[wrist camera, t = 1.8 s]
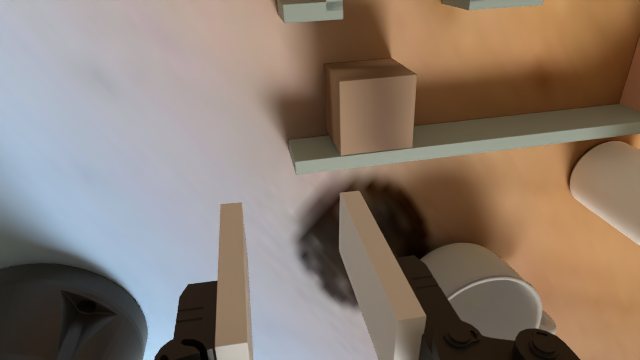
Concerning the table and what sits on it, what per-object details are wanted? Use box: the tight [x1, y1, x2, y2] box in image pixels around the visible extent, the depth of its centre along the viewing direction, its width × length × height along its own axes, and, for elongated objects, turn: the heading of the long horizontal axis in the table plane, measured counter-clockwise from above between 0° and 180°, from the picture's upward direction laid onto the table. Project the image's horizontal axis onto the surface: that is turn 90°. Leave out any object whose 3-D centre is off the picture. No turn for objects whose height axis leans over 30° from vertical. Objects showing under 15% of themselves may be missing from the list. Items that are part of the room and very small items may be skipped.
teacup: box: [420, 243, 556, 341], centre depth 39 cm, size 14×11×8 cm
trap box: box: [277, 0, 640, 175], centre depth 29 cm, size 30×18×4 cm, turn 93°
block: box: [324, 58, 417, 156], centre depth 30 cm, size 5×5×5 cm
